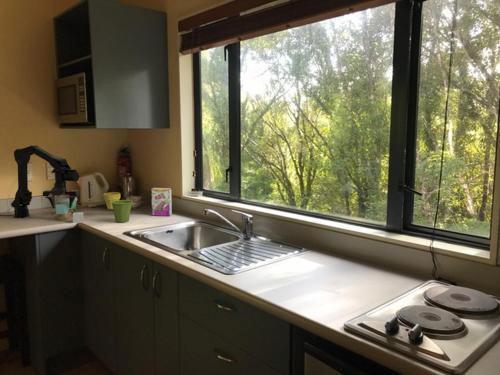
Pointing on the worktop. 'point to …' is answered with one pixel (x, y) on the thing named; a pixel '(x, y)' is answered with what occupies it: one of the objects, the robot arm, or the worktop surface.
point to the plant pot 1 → (111, 199)
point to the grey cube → (78, 217)
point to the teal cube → (61, 208)
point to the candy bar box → (161, 201)
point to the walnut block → (62, 217)
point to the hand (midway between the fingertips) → (62, 208)
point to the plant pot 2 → (121, 210)
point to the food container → (66, 201)
